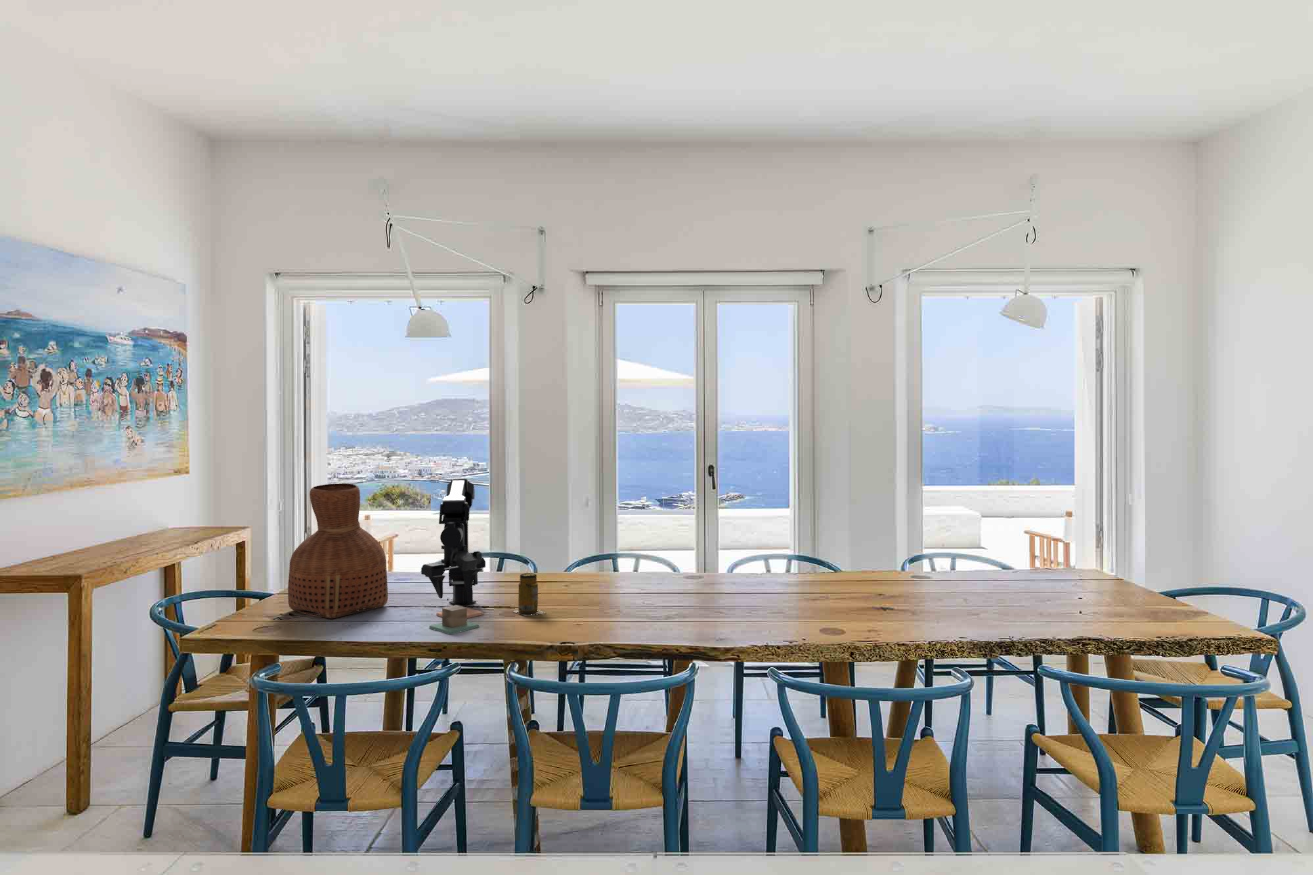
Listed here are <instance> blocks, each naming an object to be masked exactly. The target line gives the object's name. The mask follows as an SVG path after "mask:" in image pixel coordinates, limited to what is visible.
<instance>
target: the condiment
mask: <svg viewBox="0 0 1313 875" xmlns="http://www.w3.org/2000/svg"><path fill="white" fill-rule="evenodd" d="M537 577H538V575H537V574H536V573H534V572H526V573H521V574H520V575H519V583H518V597H517V598H518V608H517V609H518V610H519V611H518V610H517V609H516V610H513V611H512V612H514V613H515V614H519V615H520V616H521V615H522V616H524V617H531V616H538V614H539V615H543V614H546V612H545V611H542V610H539V609H538V608H539V584H538V582H537V581H538V580H537ZM537 610H539V611H537ZM517 612H519V613H517ZM536 612H539V613H536ZM543 612H544V613H543ZM531 614H532V615H531ZM535 614H536V615H535Z"/></svg>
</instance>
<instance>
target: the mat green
mask: <svg viewBox="0 0 1313 875" xmlns="http://www.w3.org/2000/svg"><path fill="white" fill-rule="evenodd" d="M478 628H480V624H479V623H476V622H471V621H468V620H467V625H464V626H460V627H456V628H450V627H446V626H443V625H442V622H439V623H434V624H429V629H431V630H434V629H435V630H434V631H437V632H440V631H441V633H445V634H447V633H448V635H453V633H454V634H457V633H461V632H460V631H462V632H465V631H468V629H470V630H472V629H473V630H474V629H478Z"/></svg>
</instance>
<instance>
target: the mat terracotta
mask: <svg viewBox="0 0 1313 875" xmlns="http://www.w3.org/2000/svg"><path fill="white" fill-rule="evenodd" d="M466 608H467V619H469V618H470V619H471V618H475V617H479V616H482V615H483V616H484V612H483V611H480V610H476V609H473V608H469V607H466ZM435 614H436V616H437V617H440V618H442V611H439V612H436V613H435Z"/></svg>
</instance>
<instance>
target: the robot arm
mask: <svg viewBox="0 0 1313 875" xmlns="http://www.w3.org/2000/svg"><path fill="white" fill-rule="evenodd" d="M446 486H447V487H446V496H445V497H443V499H442V502H441V503H440V505H439V517H438V518H439V519H438V524H439V525H443V530H442V531H441V532H440V536H439V538H440V542H441V544H442V545H440V547H441V550H443V559H441V562H440V563H436V562H430V563H423V565H422V566H421V568H420V574H421V575H422V576H423V575H424V576H425V577H426V578H428V579H429V581H430V583H431V584H432V586H433V588H434V590H435V592H436V594H437V596H438V598H439V599H441V600H442V599H443V596H444V580H445V577H446V575H444V574H445V572H447V571H448V585H449V586H448V587H452V600H451V601H449V602H448V604H450V605H453V606H455V605H458V606H462V607H464V606H467V605H472V604H476V603H477V600H474V599H473V598H474V592H473V587H474V586H476V585H478V584H479V583H478V582H479V580H478V573H479V572H481V571H482V570H483V569H484V568H486V560H485V559H484V557H483V556H482V552H481V551H480V550H477V551H473V552H469V521H470V510H471V508H472V506H473V500H475V495H476V494H475V493H476V490H475V484H474V483H473V482H470V481H469V480H468V478H466V477H453V478H451V479H450V482H448V484H447V485H446Z"/></svg>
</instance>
